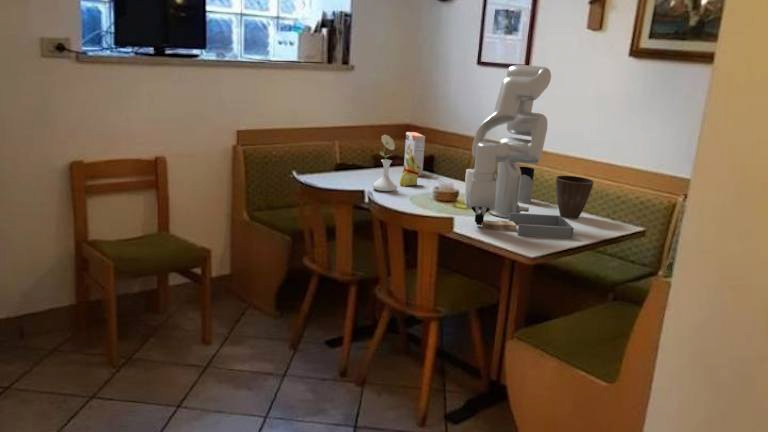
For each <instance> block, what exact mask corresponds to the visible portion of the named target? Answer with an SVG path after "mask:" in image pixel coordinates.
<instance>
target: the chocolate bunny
mask: <svg viewBox="0 0 768 432" xmlns="http://www.w3.org/2000/svg"><path fill="white" fill-rule="evenodd" d="M406 162H407V165H408V166H407V168H406V169H405V168H404V167H403V171H402V174H401V178H400V180H399V184H400V186H402V187H408V186H417V185H418V178H419V177H420V176H419V171H420V165H419V164H418V163H417V162H416V160H415V158H414V156H413V155H412V154H410V155H409V156H408V157H407V158H406Z"/></svg>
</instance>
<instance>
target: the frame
mask: <svg viewBox="0 0 768 432" xmlns="http://www.w3.org/2000/svg"><path fill="white" fill-rule="evenodd" d="M508 221H513V222H514V223H515V224H516V225H517V224H518V229H517V236H521V237H522V236H525V237H541V238H556V239H557V238H559V239H573V236H574V235H573V234H574V229H575V228H574V227H573V226H572V225H571V224H570V223H569V222H568V221H566V219H564V217H561V216H560V215H555V214H538V213H537V214H536V213H525V212H524V213H523V212H520V213H509V218H508Z"/></svg>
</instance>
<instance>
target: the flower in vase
mask: <svg viewBox="0 0 768 432" xmlns="http://www.w3.org/2000/svg"><path fill="white" fill-rule="evenodd" d="M380 141H381V142H382V144H383V146H384V148H383V151H382V150H380V152H379V155H380V156H382V157H384V159H381V160H380V161H381V162H382V166H383V174H382V176H381V178H379V179H378V180H376V181H375V182H374V183H373V184H372V188H373V189H375V190H377V191H380V192H381V191H382V192H392V191H396V190H397V189H398V185H397V184H396V183H395V182H394V181H393V180H392V178H390V177H389V170H390V166H391V163H393V160H392V159H387V157H389V156H392V153H390V154H388V155H385V150H386V148H387V149H388V150H390V151H393V150H395V149H396V148H395V147H396V145H395V142H394V139H393V138H392V137H391V136H390V135H387V134H383V135H382V136H381V140H380Z"/></svg>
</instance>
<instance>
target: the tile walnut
mask: <svg viewBox="0 0 768 432" xmlns="http://www.w3.org/2000/svg"><path fill="white" fill-rule="evenodd" d="M480 226H481V228H482V229H483V230H491V231H501V230H500V224H499V223H498V221H497V220H486V219H483V223H482V224H481V225H480Z"/></svg>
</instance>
